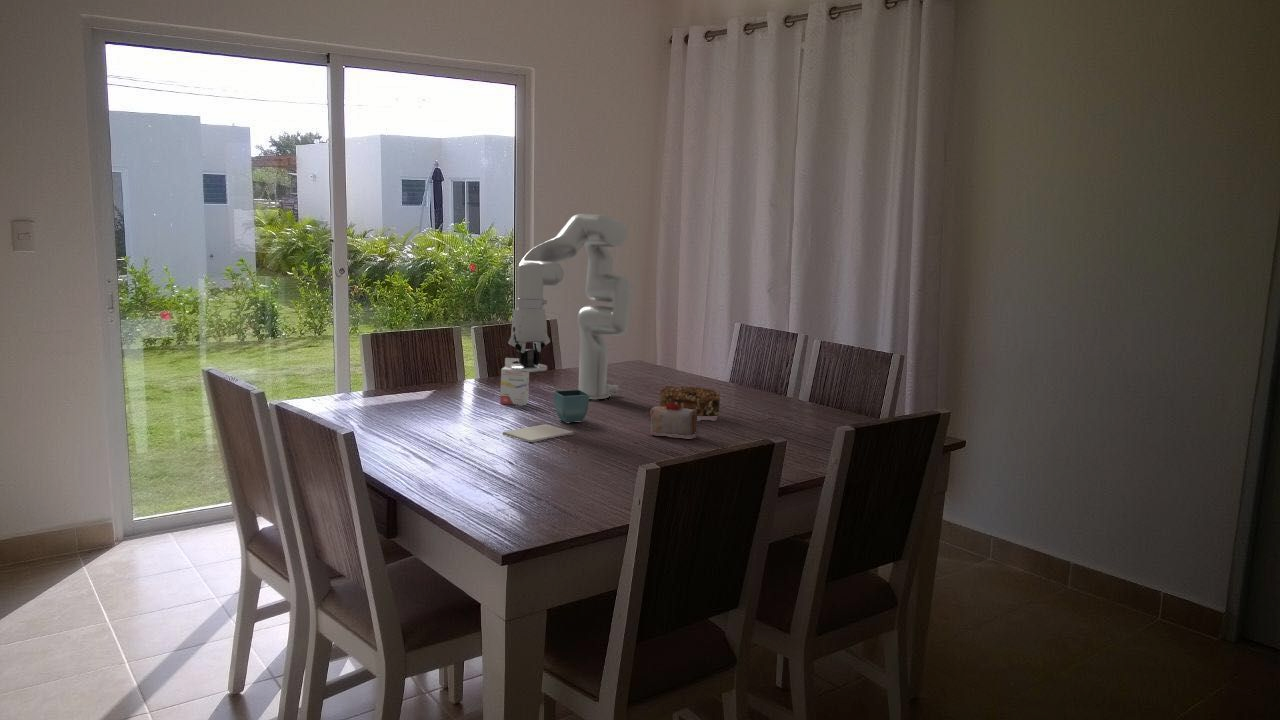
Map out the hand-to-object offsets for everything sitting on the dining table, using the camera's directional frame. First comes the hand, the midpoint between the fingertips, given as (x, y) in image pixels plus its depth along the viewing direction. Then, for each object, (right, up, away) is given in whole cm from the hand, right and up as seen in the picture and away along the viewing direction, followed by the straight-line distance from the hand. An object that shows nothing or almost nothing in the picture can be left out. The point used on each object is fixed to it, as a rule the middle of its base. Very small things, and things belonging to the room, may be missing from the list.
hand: (529, 364), depth 280 cm
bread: (+49, -17, +14) cm, 54 cm away
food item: (+43, -21, -11) cm, 49 cm away
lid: (0, -1, 0) cm, 1 cm away
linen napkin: (+5, -20, -16) cm, 26 cm away
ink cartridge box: (-8, -13, +24) cm, 29 cm away
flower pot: (+12, -18, +2) cm, 22 cm away
